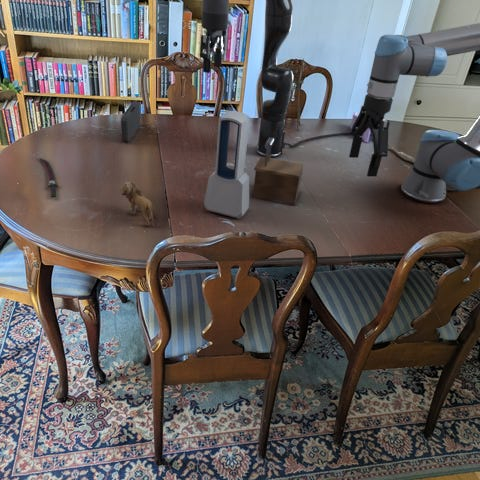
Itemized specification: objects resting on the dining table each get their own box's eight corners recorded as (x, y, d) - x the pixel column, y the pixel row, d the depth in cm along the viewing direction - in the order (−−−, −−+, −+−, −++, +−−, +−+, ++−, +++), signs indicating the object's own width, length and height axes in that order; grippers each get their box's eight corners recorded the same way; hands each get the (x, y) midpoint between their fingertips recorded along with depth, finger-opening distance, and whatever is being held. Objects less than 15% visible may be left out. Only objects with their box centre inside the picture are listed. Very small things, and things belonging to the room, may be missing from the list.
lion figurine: (118, 210, 138) (116, 182, 133) (132, 204, 141) (131, 177, 137) (151, 229, 130) (150, 201, 126) (165, 223, 134) (165, 195, 129)
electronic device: (248, 210, 145) (259, 115, 129) (241, 221, 139) (251, 123, 123) (211, 201, 148) (218, 107, 132) (202, 211, 142) (207, 114, 125)
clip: (343, 126, 223) (346, 112, 219) (367, 127, 225) (371, 113, 221) (360, 142, 206) (364, 127, 202) (386, 142, 209) (390, 127, 205)
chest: (252, 197, 153) (255, 170, 148) (258, 184, 161) (262, 159, 156) (294, 205, 151) (299, 178, 146) (298, 192, 159) (303, 166, 154)
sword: (61, 197, 141) (61, 193, 140) (50, 198, 139) (50, 194, 139) (49, 160, 164) (48, 156, 163) (39, 160, 163) (39, 157, 162)
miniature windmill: (298, 130, 211) (309, 61, 195) (279, 127, 212) (289, 59, 196) (300, 124, 219) (311, 57, 203) (282, 121, 220) (292, 55, 204)
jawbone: (425, 170, 187) (427, 165, 186) (378, 154, 198) (379, 150, 196) (434, 162, 193) (435, 157, 192) (388, 148, 203) (389, 143, 202)
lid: (254, 170, 148) (257, 143, 143) (260, 158, 156) (263, 133, 151) (299, 178, 146) (303, 152, 141) (303, 166, 154) (307, 141, 149)
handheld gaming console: (134, 123, 200) (133, 100, 195) (140, 124, 200) (140, 100, 195) (121, 142, 181) (119, 117, 175) (128, 143, 181) (127, 118, 175)
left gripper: (218, 15, 125) (214, 76, 134) (236, 9, 137) (232, 67, 146) (192, 11, 127) (191, 72, 136) (212, 6, 139) (210, 63, 148)
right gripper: (349, 83, 139) (335, 150, 151) (387, 109, 119) (367, 184, 130) (373, 84, 141) (357, 150, 152) (413, 110, 120) (392, 184, 132)
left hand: (212, 69), depth 141 cm, fingers open, 8 cm apart
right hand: (362, 166), depth 141 cm, fingers open, 13 cm apart
